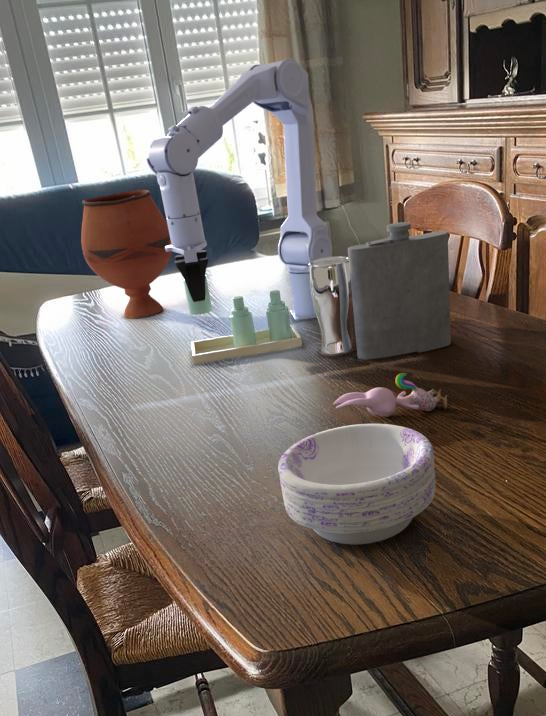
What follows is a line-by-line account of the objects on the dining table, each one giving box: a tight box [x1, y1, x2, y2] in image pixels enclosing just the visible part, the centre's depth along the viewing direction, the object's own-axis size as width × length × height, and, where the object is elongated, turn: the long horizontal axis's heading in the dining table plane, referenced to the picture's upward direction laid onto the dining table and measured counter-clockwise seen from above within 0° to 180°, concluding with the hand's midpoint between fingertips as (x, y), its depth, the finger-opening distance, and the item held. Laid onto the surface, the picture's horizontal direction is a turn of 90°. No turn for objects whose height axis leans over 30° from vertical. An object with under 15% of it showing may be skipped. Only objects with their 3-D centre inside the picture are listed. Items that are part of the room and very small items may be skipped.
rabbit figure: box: [333, 372, 448, 418], centre depth 98 cm, size 6×6×15 cm
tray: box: [190, 324, 303, 365], centre depth 134 cm, size 19×9×2 cm, turn 99°
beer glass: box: [309, 255, 357, 357], centre depth 123 cm, size 7×7×15 cm
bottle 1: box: [229, 295, 257, 348], centre depth 132 cm, size 4×4×9 cm
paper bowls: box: [277, 423, 436, 546], centre depth 74 cm, size 15×15×8 cm
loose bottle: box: [182, 274, 213, 316], centre depth 130 cm, size 4×4×9 cm
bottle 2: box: [265, 289, 292, 342], centre depth 132 cm, size 4×4×9 cm
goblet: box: [80, 189, 173, 319], centre depth 163 cm, size 19×19×25 cm
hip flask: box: [347, 221, 452, 361], centre depth 117 cm, size 16×4×20 cm, turn 103°
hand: (198, 297), depth 131 cm, fingers closed on loose bottle, 4 cm apart
